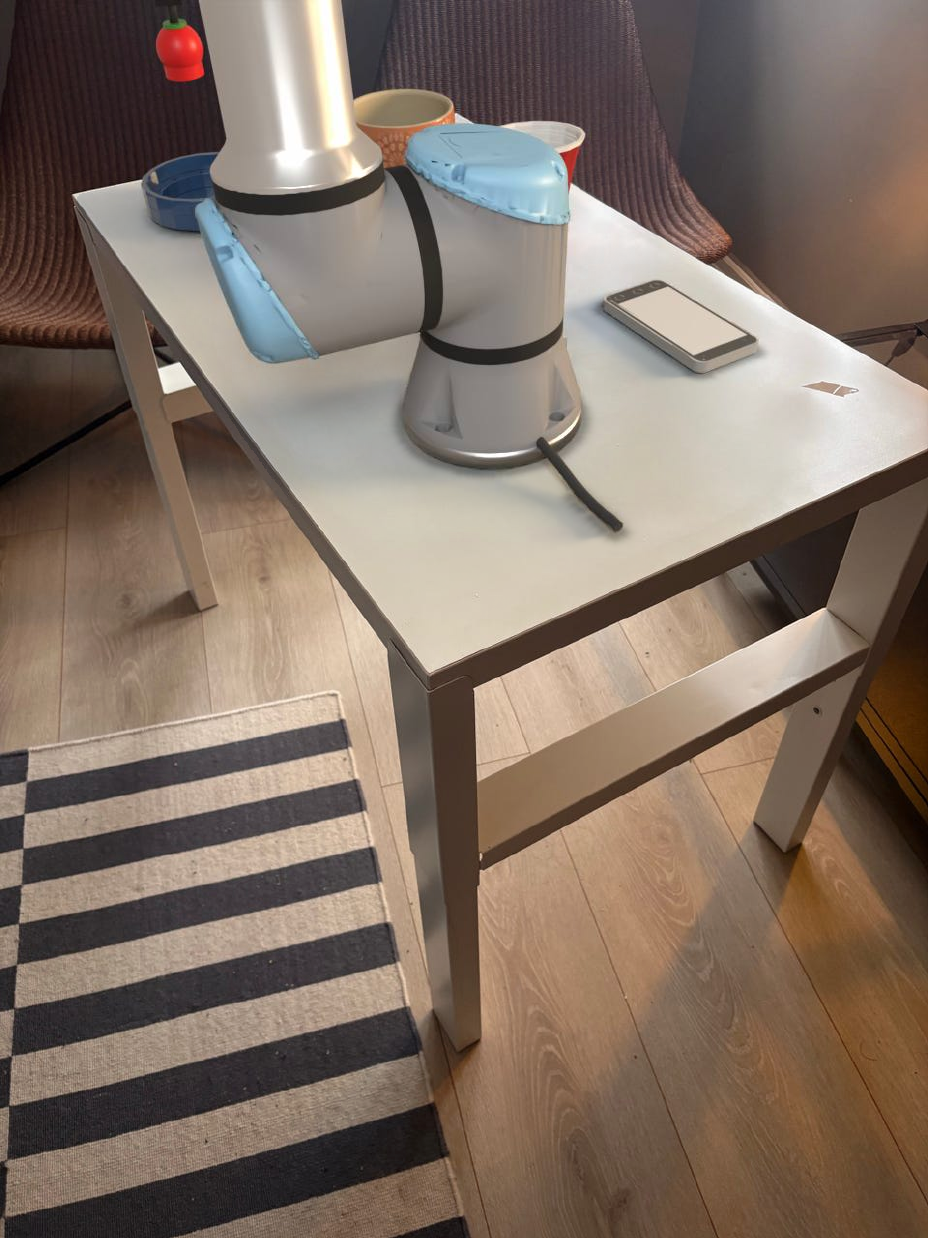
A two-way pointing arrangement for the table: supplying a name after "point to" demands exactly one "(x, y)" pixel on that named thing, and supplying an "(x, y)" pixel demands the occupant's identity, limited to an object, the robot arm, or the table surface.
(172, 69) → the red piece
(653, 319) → the smartphone
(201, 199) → the dish
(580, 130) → the plastic cup
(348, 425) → the table surface
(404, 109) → the planter
